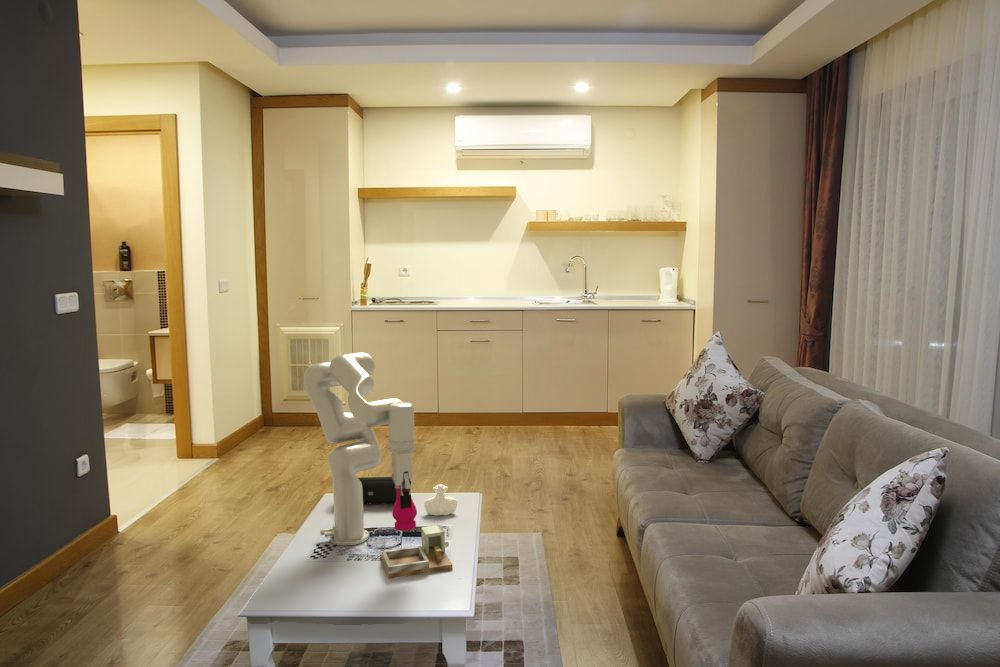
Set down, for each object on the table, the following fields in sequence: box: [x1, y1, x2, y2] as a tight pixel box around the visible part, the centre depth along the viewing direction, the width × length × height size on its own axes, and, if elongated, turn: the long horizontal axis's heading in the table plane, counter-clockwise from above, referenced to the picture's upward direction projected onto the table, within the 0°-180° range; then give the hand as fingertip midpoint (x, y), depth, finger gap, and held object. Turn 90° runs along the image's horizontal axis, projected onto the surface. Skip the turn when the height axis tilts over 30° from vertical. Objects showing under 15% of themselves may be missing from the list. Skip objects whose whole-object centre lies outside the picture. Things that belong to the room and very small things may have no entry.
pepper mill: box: [391, 473, 418, 531], centre depth 212 cm, size 7×7×20 cm
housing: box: [421, 524, 446, 554], centre depth 223 cm, size 6×6×6 cm
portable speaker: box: [357, 476, 396, 505], centre depth 270 cm, size 26×10×10 cm, turn 93°
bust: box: [423, 483, 458, 517], centre depth 259 cm, size 12×8×11 cm
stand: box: [379, 545, 453, 580], centre depth 217 cm, size 19×16×4 cm
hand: (403, 503), depth 212 cm, fingers closed on pepper mill, 5 cm apart
